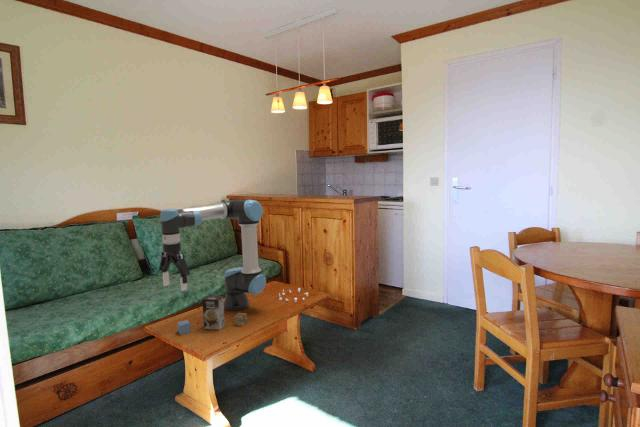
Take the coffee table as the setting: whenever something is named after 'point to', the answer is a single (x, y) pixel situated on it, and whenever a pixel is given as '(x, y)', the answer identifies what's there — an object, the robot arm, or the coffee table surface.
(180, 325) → the slate block
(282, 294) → the game piece set
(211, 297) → the coffee box
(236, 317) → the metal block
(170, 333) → the coffee table surface
